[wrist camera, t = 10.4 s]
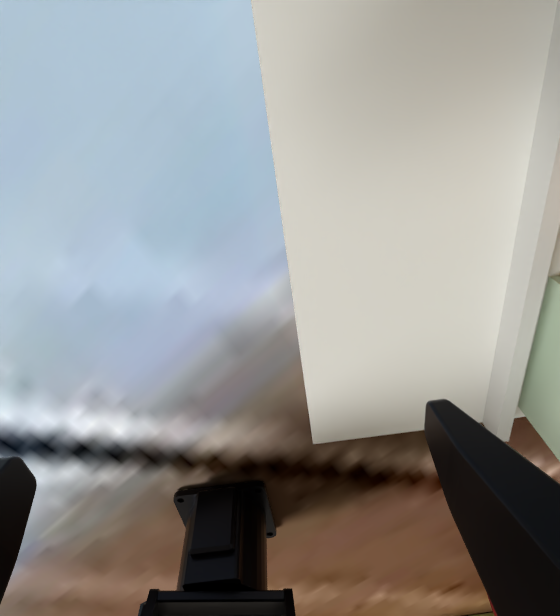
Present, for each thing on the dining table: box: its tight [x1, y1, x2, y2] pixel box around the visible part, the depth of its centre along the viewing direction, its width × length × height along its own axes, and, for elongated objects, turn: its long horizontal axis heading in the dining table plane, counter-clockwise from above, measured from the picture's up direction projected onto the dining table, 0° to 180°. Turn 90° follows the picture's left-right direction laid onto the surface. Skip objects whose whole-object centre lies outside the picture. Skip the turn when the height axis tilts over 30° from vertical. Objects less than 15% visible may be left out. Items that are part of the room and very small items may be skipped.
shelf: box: [251, 0, 560, 444], centre depth 19 cm, size 24×20×3 cm
